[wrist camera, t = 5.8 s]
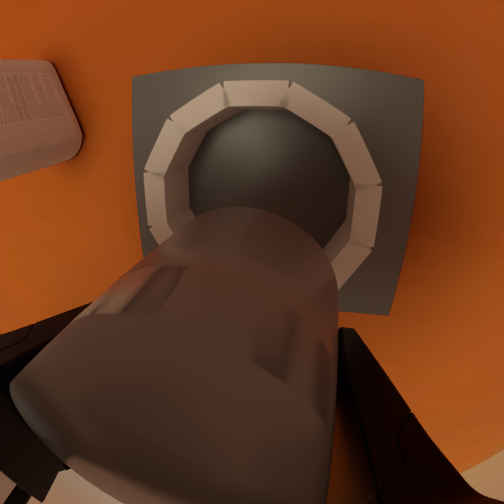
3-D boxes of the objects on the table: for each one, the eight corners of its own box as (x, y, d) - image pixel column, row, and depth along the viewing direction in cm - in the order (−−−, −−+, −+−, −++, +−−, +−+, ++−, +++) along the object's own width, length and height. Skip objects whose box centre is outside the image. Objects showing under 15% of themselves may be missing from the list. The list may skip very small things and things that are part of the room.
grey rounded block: (321, 372, 11) (292, 552, 4) (172, 344, 12) (82, 483, 6) (353, 218, 8) (388, 475, 2) (155, 199, 9) (-35, 325, 3)
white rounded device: (29, 85, 19) (-80, 101, 8) (52, 53, 17) (-65, 56, 6) (64, 169, 22) (-55, 216, 11) (92, 140, 20) (-45, 178, 9)
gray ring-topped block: (376, 273, 19) (395, 345, 13) (181, 251, 22) (126, 306, 15) (397, 90, 14) (443, 72, 8) (174, 84, 17) (102, 73, 10)
